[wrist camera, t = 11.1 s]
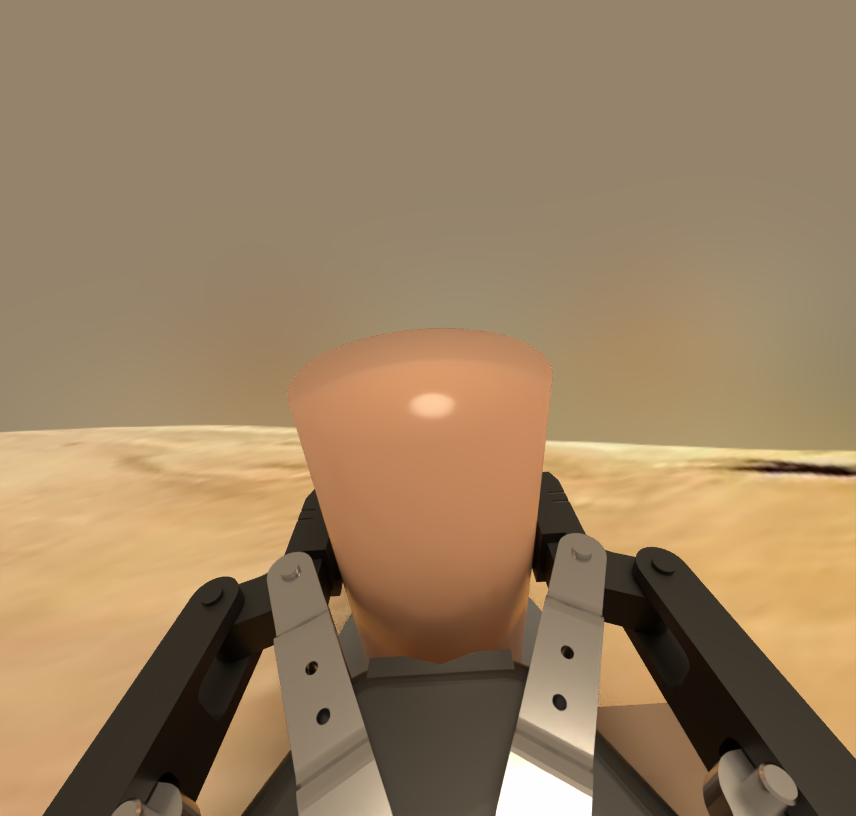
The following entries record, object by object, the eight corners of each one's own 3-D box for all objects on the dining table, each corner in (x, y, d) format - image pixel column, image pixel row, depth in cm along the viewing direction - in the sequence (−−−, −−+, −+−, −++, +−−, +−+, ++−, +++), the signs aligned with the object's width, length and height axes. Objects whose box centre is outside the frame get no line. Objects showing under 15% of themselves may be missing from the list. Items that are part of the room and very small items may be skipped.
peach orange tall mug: (538, 748, 13) (602, 427, 6) (364, 757, 13) (238, 453, 6) (493, 542, 21) (500, 301, 14) (385, 549, 21) (339, 313, 14)
